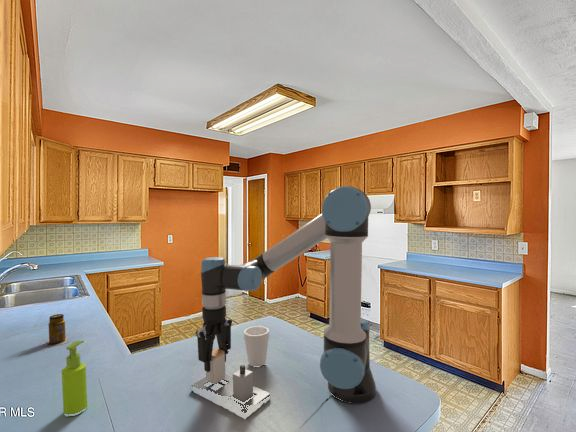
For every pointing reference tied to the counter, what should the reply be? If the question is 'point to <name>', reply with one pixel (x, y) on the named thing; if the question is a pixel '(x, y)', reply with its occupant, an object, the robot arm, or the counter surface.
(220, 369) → the plug
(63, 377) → the soap dispenser
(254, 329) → the foam cup
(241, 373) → the grey tall block
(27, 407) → the counter surface
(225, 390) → the socket strip
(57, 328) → the condiment
